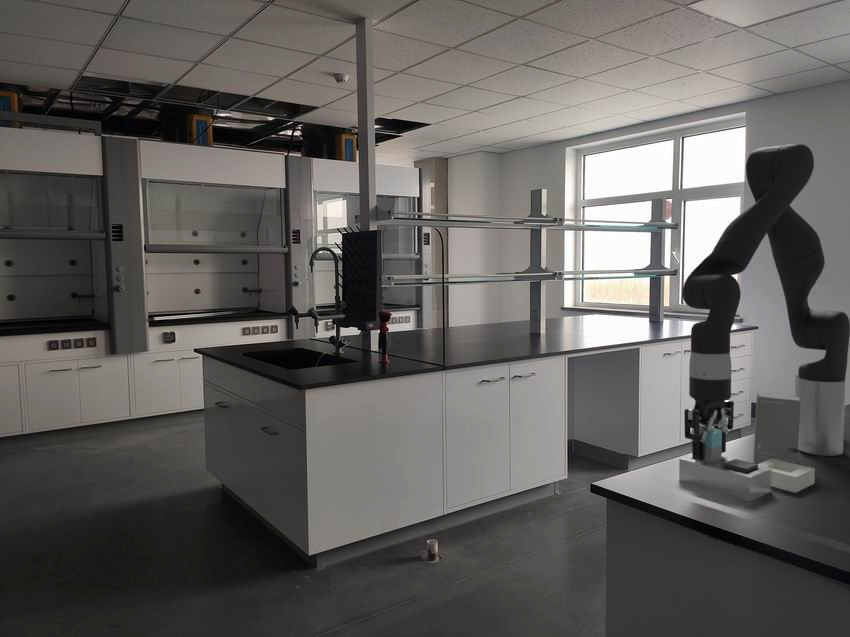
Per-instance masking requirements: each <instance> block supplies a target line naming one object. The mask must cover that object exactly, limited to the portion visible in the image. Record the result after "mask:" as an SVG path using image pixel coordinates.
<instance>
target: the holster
mask: <svg viewBox="0 0 850 637" xmlns="http://www.w3.org/2000/svg"><path fill="white" fill-rule="evenodd" d="M758 465H759V466H763V467H767V468H771V469H772V471H771V488H772V487H773V488H777V489H780V490H782V491H783V490H784V491H788V492H791V493H798V492H800V491H802V490H804V489H806V488H808V487H810V486H812V485H814V484H815V482H816V481H815V475H816V473H815V472H816V471H815V470H816V469H815V468H814V467H811V466H810V467H809V466H806V465H801V464H798V463H797V464H794V463H789V462H785V461H781V460H777V459H770V460H767V461H765V462H762V463H760V464H758Z"/></svg>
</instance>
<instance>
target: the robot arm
mask: <svg viewBox="0 0 850 637" xmlns="http://www.w3.org/2000/svg"><path fill="white" fill-rule="evenodd" d="M814 168H815V158H814V154H813V151H812V150H811V149H810V147H808V145H805V144H803V143H791V144H782V145H773V146H765V147H760V148H756V149H754V150H753V151H751V153H750V154H749V155H748V157H747V160H746V164H745V173H746V174H745V175H746V179H747V180H746V181H747V184H748V186H749V189H750V192H751V194H752V196H753V199H754V204H752V205H751V206H750V207H748V208H747V209H746V210H744V211H743V212H742V213H740V214H739V215H737V217H735V218H734V219H733V220H732V221H731V222H730V223H729V224H728V225H727V226H726V228H725V229H724V231H723V232H722V234H721V236H720V237H719V239H718V241H717V243H716V244H715V246H714V248H713V250H712V251H711V253H710V254H708V255H707V256H706V257H705V258H704V259H703V260H702V261H701V262H700V263H699V264H698V265H697V266H696V267H695V268H694V269H693V270H692V271H691V272H690V274H688V277H686V279H685V281H684V284H683V288H682V298H683V301H684V303H685V304H686V305H687V306H688V307H690V308H691V309H696V310H709V312H708V315H707V318H706V320H705V321H703V320H702V321H698V322H696V323H694V324H692V326H691V330H690V358H689V364H688V365H689V369H688V371H689V372H688V373H689V378H688V379H689V382H688V386H689V387H688V390H689V392H688V394H689V396H690V397H689V398H692V399H694V401H695V403H694V407H693V408H692V409H691V408H685V409H684V438H685V439H688V440H691V442H692V445H691V451H692V452H691V455H692V457H693V458H694V459H696V460H700V461H702V460H704V459H705V442H704V441H705V438H706V435H707V433H708V432H710V431H711V428H714V429H719V430H722V454H724V453H726V451H727V448H726V447H727V435H728V434H729V430H733V429H734V411H735V410H734V409H735V406H734V404H735V403H734V401H733V400H730V399H731V398H732V359H731V330H732V328H733V324H734V321H735V317H736V314H737V311H738V308H739V306H740V303H741V302H740V301H741V295H742V294H741V286H740V284H739V282H738V280H737V278H735V277H734V276H735V275H739V274H741V273H743V272H744V271H745V270H746V269H747V268H748V266H749V264H750V262H751V261H752V259H753V257H754V255H755V254H756V251H757V250H758V248H759V246H760V245H761V243H762V241H763V240H764V237H766V235H767V237H768V241H769V244H770V250H771V254H772V256H773V261H774V265H775V268H776V271H777V273H778V276H779V280H780V284H781V287H782V288H781V289H782V290H783V296H784V299H785V304H786V311H787V316H788V322H789V329H790V335H791V337H792V340H793V342H794V343H795V345H796V347H797V346H798V347H799V348H802V349H807V350H817V351H818V350H819V351H825V355H824V357H823V358H822V359H821V358H820V359H819V360H817V361H813V362H808V363H804V364H801V365H799V367H798V371H797V372H798V373H797V374H798V397H799V399H800V401H801V405H800V424H799V440H798V451H801V452H804V453H807V454H811V455H817V456H826V457H836V455H837V456H842V454H844V438H845V437H844V436H845V434H844V432H845V430H844V429H845V409H846V408H845V402H846V401H845V400H846V374H847V367H848V354H849V353H848V352H849V344H850V317H849V316H848V315H847V313H845V312H844V311H839V310H823V309H822V310H815V309H811V308H810V305H809V301H808V300H809V295H810V293H811V290H812V288H814V286H815V284H816V282H817V281H818V280H819V278H820V277H821V274H822V272H823V270H824V268H825V262H826V261H825V256H824V251H823V246H822V243H821V239H820V237H819V235H818V233H817V231H816V230H815V229H814V228H813V226H812V225H811V224H809V222H808V221H807V220H805V219H804V218H803V217H802V216H801V215H800V214H799V213H798V212H797V211H796V210H794V208H793V207H792V206H791V205H792V203H793V202H794V200H795V199H796V198H797V197H798V196H799V194H800V193H801V192H802V191H803V189H804V188H805V187H806V185H807V184H808V183H809V181H810V179H811V176H812V175H813V171H814ZM733 275H734V276H733ZM700 430H701V431H702V432H701V435H700Z"/></svg>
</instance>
